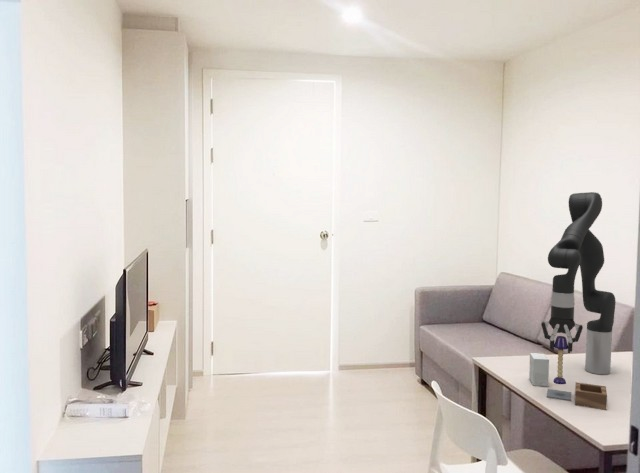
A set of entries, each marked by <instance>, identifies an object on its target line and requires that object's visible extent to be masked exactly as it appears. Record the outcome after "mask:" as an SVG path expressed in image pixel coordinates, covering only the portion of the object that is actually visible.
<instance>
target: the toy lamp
mask: <svg viewBox="0 0 640 473" xmlns="http://www.w3.org/2000/svg"><path fill="white" fill-rule="evenodd" d="M566 337H567V336H562V335H556V337H555V340H554V349H557V370H556V371H557V374H556V375H557V376H556V377H554V379H553V381H552V382H553V383H554V384H556V385H566V384H567V380H566V378H564V377H563V376H564V375H563V372H564V371H563V368H564V366H563V365H564V362H563V361H564V357H563V356H564V350H568V340H567V338H566Z"/></svg>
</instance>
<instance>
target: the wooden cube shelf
mask: <svg viewBox="0 0 640 473" xmlns="http://www.w3.org/2000/svg"><path fill="white" fill-rule="evenodd" d="M607 404H608V392H607V386H606V385H599V384H598V385H597V384H591V383H584V382H583V383H582V382H578V381H577V382H575V389H574V406H578V407H585V408H593V409H598V410H604V411H607V406H608V405H607Z"/></svg>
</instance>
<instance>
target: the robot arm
mask: <svg viewBox="0 0 640 473" xmlns="http://www.w3.org/2000/svg"><path fill="white" fill-rule="evenodd" d="M602 208H603V198H602V196H601V195H600V193H599V192H595V191H593V192H575V193H572V194H570V195H569V197H568V210H569V214H570V219H571V223H570V224H569V225H568V226H567V227H566V228H565V230H564V232H563V234H562V236H561V238H560V240H559V241H558V242H557V243H556V244H555V245H554V246H553V247H552V248H551V249H550V251H549V252H548V255H547V262H548V264H549V265H550V267H552V268H554V269H562V270H563V269H564V270H567V271H566V273H564V274H557V275H554V276H553V278H552V288H551V289H552V291H551V293H552V294H551V298H550V319H549V320H547V321H546V320H545V321H544V320H543V321H541V329H542V333H543V335H544V339H546V340H549V349H550V350H551V352H554V351H555V347H554V344H555V339H556V337H557V334H565V335H566V337H567V339H568V340H567V344H568V349H567V354H570V353H572V352H573V343H577V342H579V339H580V337H581V334H582V331H583V329H584V325H583V324H578V323H576V322H575V320H574V318H575V283H576V282H575V280H576V276H577V273H578V270H580V276H581V288H582V289H581V292H582V303H583V307H584V309H585V311H587V312H589V313H595V314H600V316H599V318H598V319H593V320H590V321H587V323H586V339H585V340H586V342H585V362H584V363H585V364H584V365H585V366H584V369H585V371H586V372H588V373H591V374H595V375H609V374H611V363H612V339H613V338H612V337H613V326H614V321H615V314H616V313H615V310H616V296H615V294H614V293H613V292H609V291H604V290H600V289H596V278H597V276H598V274H599V273H600V271H601V269H602V268H603V266H604V264H605V254H604V253H605V252H604V247H603V244H602V243H601V241H600V240H599V238H598V237H597V236H596V235H595V234H594V233H593V232H592V231H591V230H590V228H591V227H592V225H593V224H594V223H595V221H596V220H597V219H598V217H599V216H600V214H601V211H602ZM549 325H550V327H551V329H553V330H552V333H551V334H549V331H548V327H549ZM573 328H575V330H576V332H575V334H574V335H575V336H574V337H572V333H571V330H572V329H573Z"/></svg>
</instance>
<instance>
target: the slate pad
mask: <svg viewBox="0 0 640 473" xmlns="http://www.w3.org/2000/svg"><path fill="white" fill-rule="evenodd" d="M546 391H547V392H546V398H547V399H554V400H560V401H567V402H572V391H566V390H560V389H559V390H558V389H553V388H547V390H546Z"/></svg>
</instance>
